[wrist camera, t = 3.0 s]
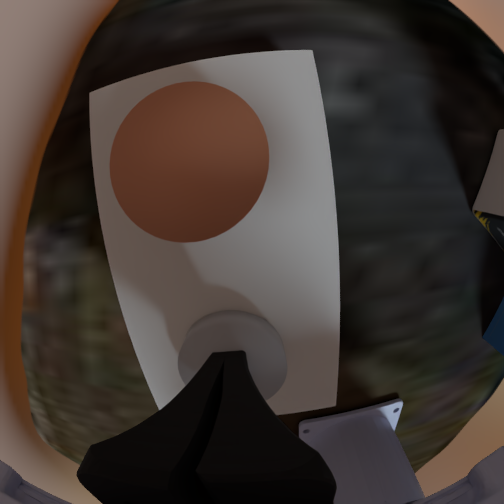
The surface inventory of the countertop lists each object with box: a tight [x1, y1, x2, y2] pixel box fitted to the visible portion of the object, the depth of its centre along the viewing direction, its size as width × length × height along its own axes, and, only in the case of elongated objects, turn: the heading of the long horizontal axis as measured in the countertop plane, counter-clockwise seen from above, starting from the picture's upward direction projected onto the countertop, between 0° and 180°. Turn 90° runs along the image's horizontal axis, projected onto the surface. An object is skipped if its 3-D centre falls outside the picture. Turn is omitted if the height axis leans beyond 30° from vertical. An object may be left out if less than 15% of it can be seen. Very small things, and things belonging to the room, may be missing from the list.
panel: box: [89, 50, 340, 415], centre depth 12 cm, size 17×10×3 cm, turn 7°
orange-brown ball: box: [110, 81, 269, 243], centre depth 9 cm, size 4×4×4 cm
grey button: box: [178, 310, 287, 401], centre depth 12 cm, size 4×4×4 cm
